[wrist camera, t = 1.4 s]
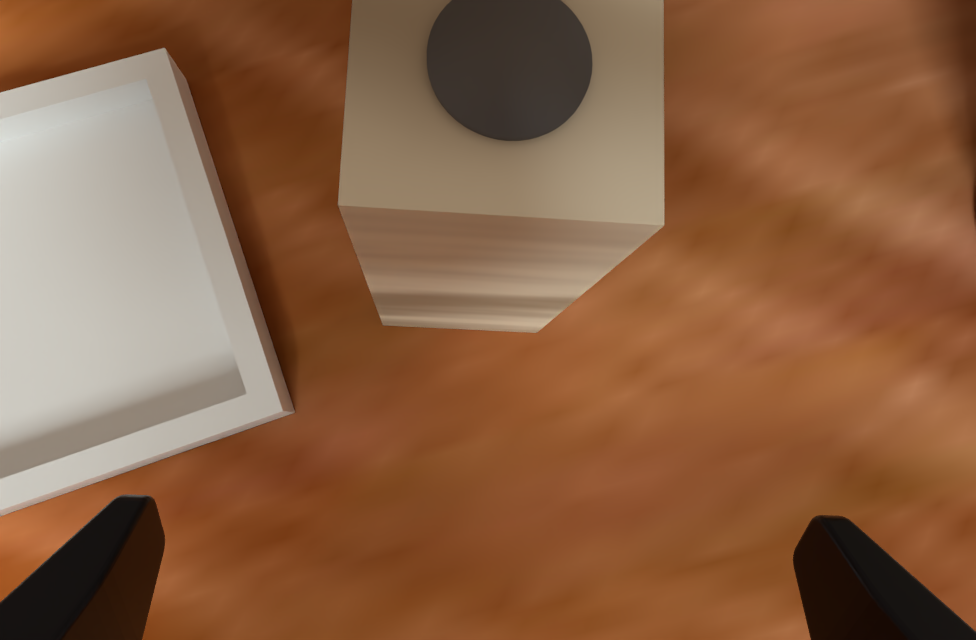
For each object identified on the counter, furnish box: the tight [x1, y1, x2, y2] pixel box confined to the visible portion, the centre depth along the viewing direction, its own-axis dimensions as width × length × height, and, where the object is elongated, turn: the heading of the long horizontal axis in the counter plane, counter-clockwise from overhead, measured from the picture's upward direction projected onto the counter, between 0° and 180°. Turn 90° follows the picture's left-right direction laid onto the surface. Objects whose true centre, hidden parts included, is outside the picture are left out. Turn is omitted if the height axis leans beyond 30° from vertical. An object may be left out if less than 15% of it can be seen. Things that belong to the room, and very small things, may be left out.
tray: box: [0, 48, 295, 516], centre depth 21 cm, size 12×12×2 cm
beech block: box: [338, 0, 664, 333], centre depth 17 cm, size 5×5×13 cm
